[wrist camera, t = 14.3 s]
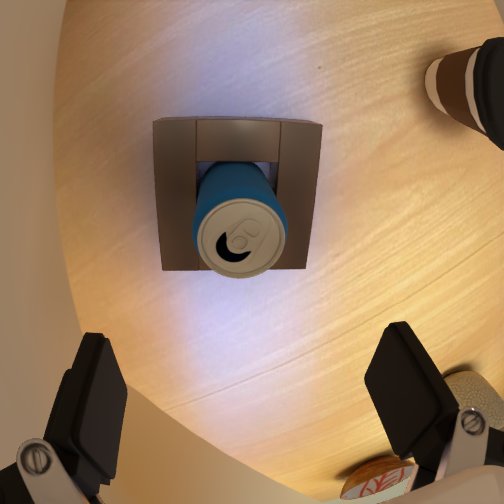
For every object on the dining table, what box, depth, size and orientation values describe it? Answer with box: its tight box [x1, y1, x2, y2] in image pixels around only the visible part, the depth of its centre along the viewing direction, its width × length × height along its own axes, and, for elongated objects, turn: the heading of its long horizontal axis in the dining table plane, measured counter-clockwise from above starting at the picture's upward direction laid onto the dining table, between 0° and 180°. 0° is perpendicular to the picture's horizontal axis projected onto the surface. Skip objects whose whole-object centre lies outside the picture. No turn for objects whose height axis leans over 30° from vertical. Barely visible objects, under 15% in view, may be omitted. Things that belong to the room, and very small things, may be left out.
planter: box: [444, 371, 504, 432], centre depth 47 cm, size 21×21×19 cm
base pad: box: [153, 116, 323, 271], centre depth 29 cm, size 14×14×4 cm
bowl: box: [340, 456, 415, 500], centre depth 70 cm, size 25×25×8 cm
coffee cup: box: [425, 37, 504, 151], centre depth 21 cm, size 11×11×12 cm
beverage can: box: [192, 161, 288, 279], centre depth 25 cm, size 6×6×12 cm
